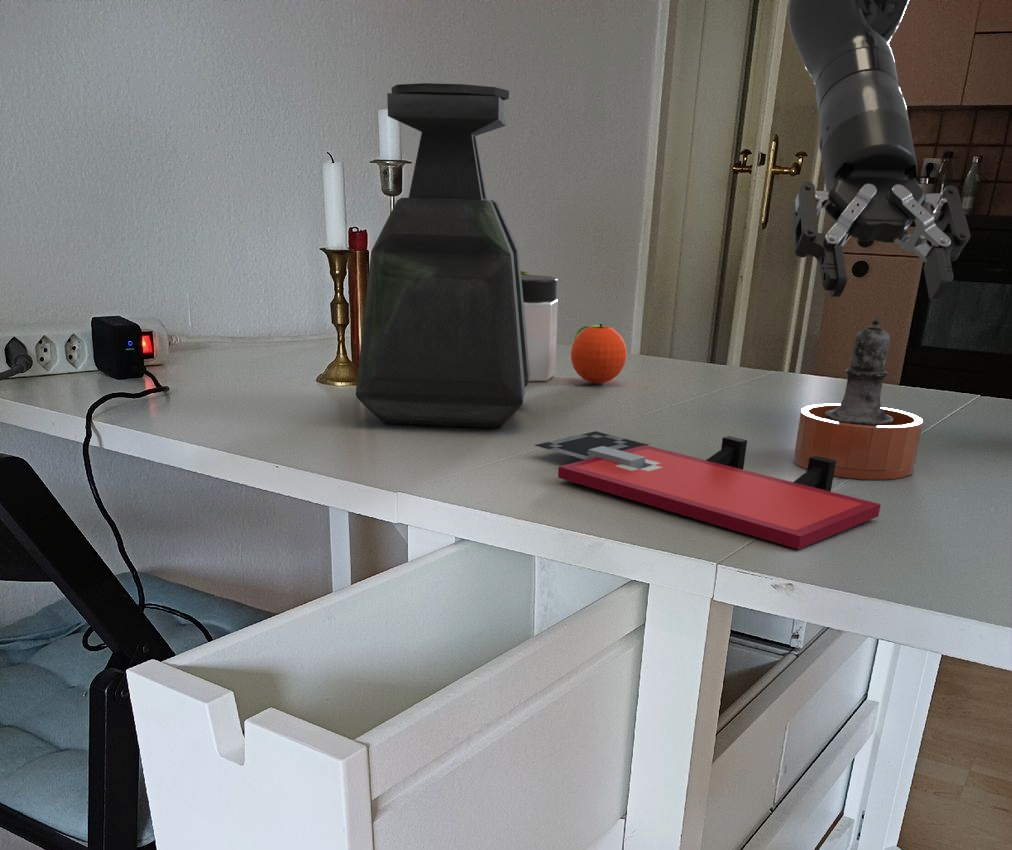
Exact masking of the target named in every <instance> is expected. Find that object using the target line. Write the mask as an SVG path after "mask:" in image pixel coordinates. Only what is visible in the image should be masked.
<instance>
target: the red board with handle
mask: <svg viewBox="0 0 1012 850" xmlns="http://www.w3.org/2000/svg"><path fill="white" fill-rule="evenodd" d="M747 445H748V439H743V438H739V437H735V436H732V435H731V436H730V435H727V436H723V437H722V440H721V449H719V451H717V452H715V453H713V454H712V455H711V456H709V457H708V458H706V459H702V458H698V457H695V456H690V455H687V454H684V453H680V452H679V453H678V452H674V451H670V450H667V449H663V448H660V447H656V446H655V447H654V446H651V445H649V443H644V442H640V441H636V440H632V439H629V438H624V437H619V436H616V435H612V434H608V433H604V432H600V431H591V432H590V431H589V432H586V433H582V434H577V435H573V436H569V437H564V438H559V439H555V440H550V441H546V442H541V443H536V444H533V446H534V447H538V448H541V449H546V450H549V451H552V452H557V453H560V454H563V455H567V456H570V457H574V458H577V459H582V460H580V461H576V462H571V463H568V464H567V463H566V464H563V465H560V466H558V475H557V478H558V479H560V480H564V481H568V482H571V483H574V484H578V485H581V486H585V487H588V488H590V489H594V490H598V491H600V492H601V491H602V492H605V493H608V494H611V495H614V496H618V497H622V498H625V499H627V500H632V501H633V502H638V503H640V504H641V503H642V504H645V505H648V506H652V507H654V508H658V509H661V510H664V511H668V512H671V513H674V514H678V515H681V516H685V517H688V518H690V519H695V520H698V521H702V522H705V523H709V524H712V525H715V526H718V527H722V528H725V529H729V530H731V531H734V532H738V533H741V534H745V535H749V536H751V537H756V538H758V539H761V540H766V541H769V542H772V543H776V544H778V545H782V546H785V547H788V548H792V549H796V550H800V549H803V548H805V547H808V546H810V545H814V544H815V543H817V542H820V541H823V540H825V539H827V538H830V537H832V536H835V535H836V534H839V533H842V532H843V531H847V530H849V529H851V528H853V527H856V526H859V525H861V524H863V523H866V522H868V521H871V520H873V519H875V518H878V517H879V516H880V511H881V505H882V504H881V503H877V502H874V501H869V500H865V499H863V498H862V499H861V498H858V497H853V496H851V495H850V496H849V495H846V494H841V493H838V492H833V491H832V486H833V481H834V477H835V476H834V470H835V465H836V460H832V459H827V458H823V457H818V456H813V457H810V458H809V463H808V469H806V472H804V473H803V474H801V475H800V476H799V477H798V478H796V479H795V480H793V481H791V480H786V479H782V478H778V477H775V476H770V475H766V474H762V473H758V472H754V471H749V470H746V469H744V468H745V461H746V460H745V459H746V452H747Z"/></svg>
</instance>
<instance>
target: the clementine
mask: <svg viewBox="0 0 1012 850" xmlns="http://www.w3.org/2000/svg"><path fill="white" fill-rule="evenodd" d="M627 356H628V355H627V346H626V343H625V341H624V339H623V337H622V335H621V334H620V333H619V332H617V331H616V330H615V328H613V327H610V326H606V325H605V326H604V325H603V323H599V325H598V324H597V325H596V324H594V325H585V326H582V327H580V328H579V329H578V330H577V332H576V333H575V335H574V338H573V344H572V346H571V351H570V359H571V364H572V367H573V369H574V371H575V372H576V373H577V375H578V376H579V377H580V378H581V379H583V380H584V381H587V382H588V383H590V384H604V383H605V384H606V383H608V382H610V381H612V380H613V379H615V378H616V377H618V375H620V373H621V371H622V370H623V368H624V366H625V364H626V360H627Z"/></svg>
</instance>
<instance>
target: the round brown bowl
mask: <svg viewBox="0 0 1012 850" xmlns="http://www.w3.org/2000/svg"><path fill="white" fill-rule="evenodd" d="M840 405H841V403H823V404H822V403H820V404H812V405H807V406H805V407H802V408H801V409H800V415H799V421H798V427H797V432H796V433H797V434H796V440H795V445H794V453H793V454H794V455H793V462H794V464H795V465H796V466H799V467H800V468H802V469H805V470H807V469H808V463H809V458H810V457H813V456H818V457H823V458H827V459H832V460H836V465H835V470H834V476H833V477H837V478H844V479H852V480H853V479H854V480H867V481H868V480H870V481H882V480H883V481H885V480H896V479H897V480H898V479H902V478H906V477H909V476H911V475H912V473H913V471H914V467H915V464H916V460H917V455H918V450H919V446H920V440H921V437H922V436H921V435H922V432H923V428H924V427H923V426H924V421H923V418H922V417H919V416H918V415H916V414H913V413H910V412H906V411H903V410H899V409H894V408H888V407H882V406H881V409H882V411H883V412H884V413H885V414H886V415H889V416H891V417H892V418H893V422H891V423H889V425H888V426H868V425H856V424H848V423H841V422H835V421H830V420H828V418H827V417H826V416H825V412H827V411H829V410H834V409H836V408H837V407H839V406H840Z"/></svg>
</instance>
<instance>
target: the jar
mask: <svg viewBox="0 0 1012 850" xmlns="http://www.w3.org/2000/svg"><path fill="white" fill-rule="evenodd" d="M521 280H522V291H523V301H524V312H525V323H526V333H527V344H528V355H529V366H530V377H529V380H528V383H529V382H548V381H549V380H550V379H551V378H553V377H554V376H555V373H556V358H557V357H556V356H557V354H556V353H557V336H558V335H557V333H558V312H559V300H558V278H557V277H555V276H551V275H550V276H548V275H538V274H532V275H521Z"/></svg>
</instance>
